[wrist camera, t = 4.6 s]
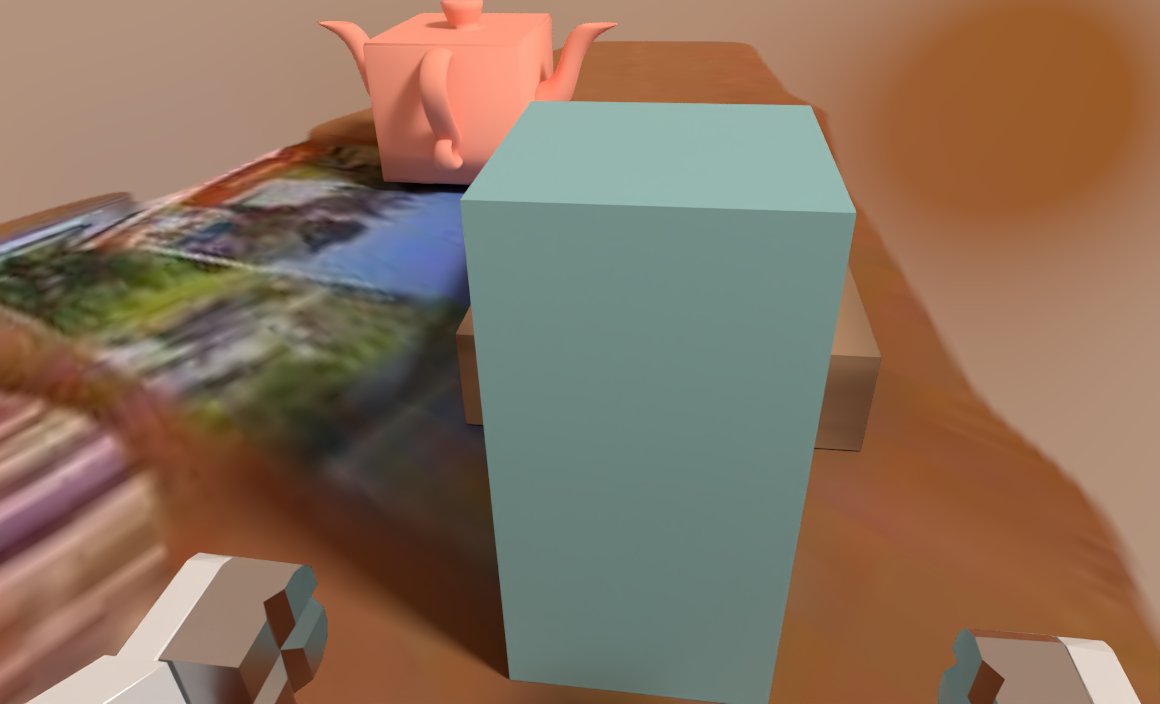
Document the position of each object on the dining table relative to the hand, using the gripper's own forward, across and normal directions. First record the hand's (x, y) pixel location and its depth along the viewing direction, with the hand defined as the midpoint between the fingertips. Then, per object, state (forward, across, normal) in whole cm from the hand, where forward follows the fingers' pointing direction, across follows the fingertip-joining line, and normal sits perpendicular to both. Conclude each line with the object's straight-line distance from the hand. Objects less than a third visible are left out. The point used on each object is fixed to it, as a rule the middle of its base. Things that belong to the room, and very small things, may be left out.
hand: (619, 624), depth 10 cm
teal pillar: (+5, 0, +6) cm, 8 cm away
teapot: (+33, +11, +6) cm, 35 cm away
